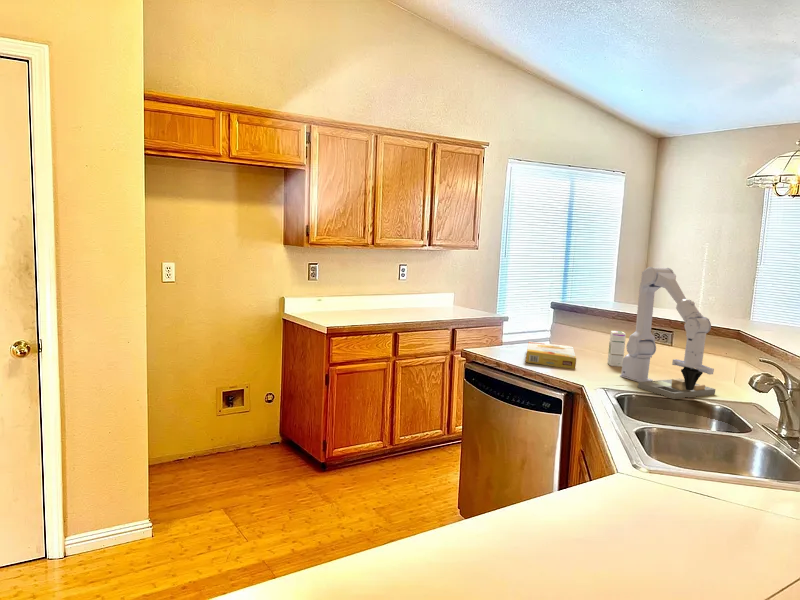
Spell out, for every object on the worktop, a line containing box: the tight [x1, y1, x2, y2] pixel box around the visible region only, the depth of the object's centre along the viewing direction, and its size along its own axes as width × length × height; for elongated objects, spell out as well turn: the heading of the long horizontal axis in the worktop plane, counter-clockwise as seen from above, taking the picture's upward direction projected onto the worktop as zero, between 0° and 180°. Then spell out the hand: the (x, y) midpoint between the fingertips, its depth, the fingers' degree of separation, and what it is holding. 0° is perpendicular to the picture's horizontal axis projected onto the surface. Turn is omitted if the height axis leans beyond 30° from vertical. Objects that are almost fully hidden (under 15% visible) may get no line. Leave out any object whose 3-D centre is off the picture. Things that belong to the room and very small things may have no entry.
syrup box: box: [607, 330, 627, 368], centre depth 252 cm, size 6×6×14 cm
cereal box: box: [525, 341, 577, 370], centre depth 255 cm, size 20×6×28 cm
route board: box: [637, 378, 716, 400], centre depth 213 cm, size 15×22×4 cm
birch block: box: [671, 378, 686, 390], centre depth 209 cm, size 4×4×3 cm
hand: (689, 389), depth 206 cm, fingers closed
